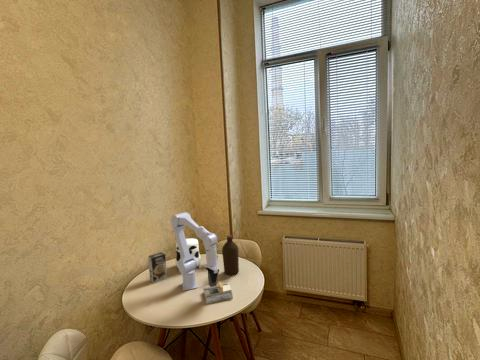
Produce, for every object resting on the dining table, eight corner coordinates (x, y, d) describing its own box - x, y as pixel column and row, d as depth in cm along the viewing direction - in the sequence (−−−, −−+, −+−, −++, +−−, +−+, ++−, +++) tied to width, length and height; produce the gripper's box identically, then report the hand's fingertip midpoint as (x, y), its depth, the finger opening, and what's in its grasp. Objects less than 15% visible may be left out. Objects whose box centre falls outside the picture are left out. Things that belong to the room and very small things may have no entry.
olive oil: (236, 277, 159) (233, 238, 157) (220, 275, 163) (218, 237, 161) (242, 270, 169) (239, 233, 167) (227, 268, 173) (225, 232, 171)
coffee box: (153, 283, 157) (151, 258, 156) (149, 280, 162) (147, 255, 160) (167, 278, 163) (165, 254, 162) (163, 275, 168) (161, 251, 166)
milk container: (196, 259, 191) (194, 236, 190) (205, 267, 176) (203, 242, 175) (173, 265, 182) (171, 241, 181) (180, 274, 168) (178, 248, 166)
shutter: (218, 287, 142) (218, 282, 142) (229, 285, 144) (228, 280, 144) (221, 292, 137) (220, 287, 136) (231, 290, 138) (231, 285, 138)
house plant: (229, 264, 179) (227, 241, 178) (214, 271, 169) (212, 247, 168) (216, 259, 189) (214, 238, 188) (201, 265, 180) (199, 243, 178)
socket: (203, 292, 143) (203, 287, 143) (227, 287, 147) (227, 282, 147) (206, 303, 132) (206, 298, 132) (232, 298, 136) (232, 293, 135)
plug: (208, 284, 139) (207, 270, 138) (214, 282, 140) (213, 268, 140) (210, 287, 136) (209, 272, 135) (216, 285, 137) (215, 271, 136)
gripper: (200, 253, 142) (202, 276, 143) (207, 262, 129) (209, 288, 130) (213, 251, 145) (214, 274, 146) (221, 260, 131) (222, 285, 133)
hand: (213, 280), depth 138 cm, fingers closed on plug, 3 cm apart
